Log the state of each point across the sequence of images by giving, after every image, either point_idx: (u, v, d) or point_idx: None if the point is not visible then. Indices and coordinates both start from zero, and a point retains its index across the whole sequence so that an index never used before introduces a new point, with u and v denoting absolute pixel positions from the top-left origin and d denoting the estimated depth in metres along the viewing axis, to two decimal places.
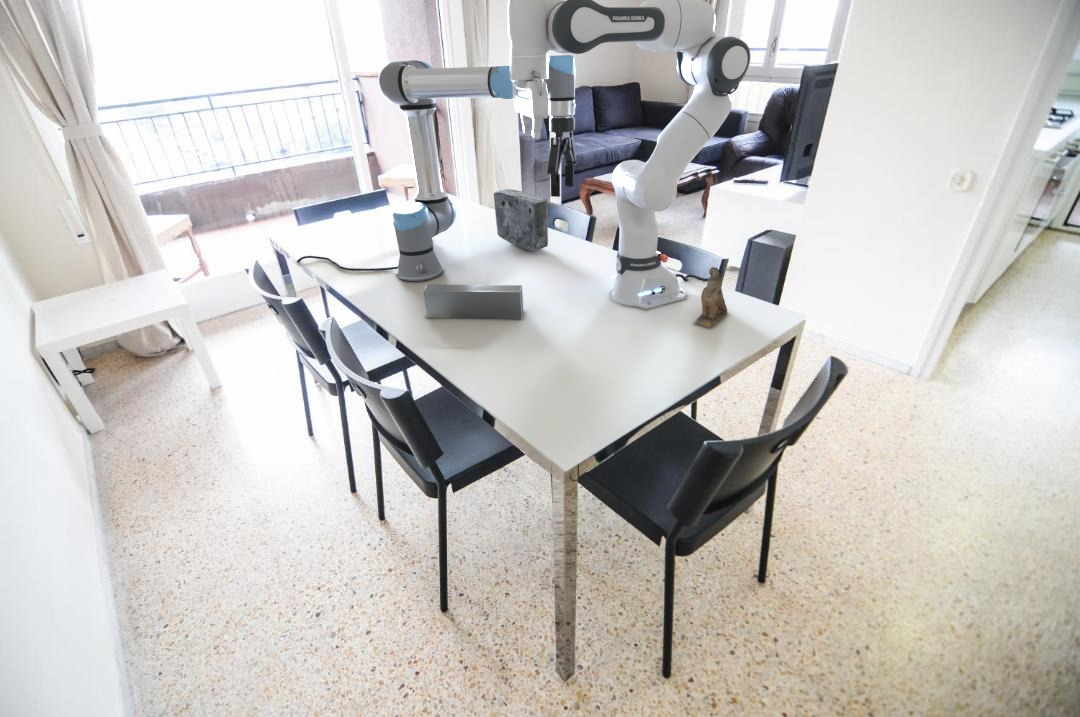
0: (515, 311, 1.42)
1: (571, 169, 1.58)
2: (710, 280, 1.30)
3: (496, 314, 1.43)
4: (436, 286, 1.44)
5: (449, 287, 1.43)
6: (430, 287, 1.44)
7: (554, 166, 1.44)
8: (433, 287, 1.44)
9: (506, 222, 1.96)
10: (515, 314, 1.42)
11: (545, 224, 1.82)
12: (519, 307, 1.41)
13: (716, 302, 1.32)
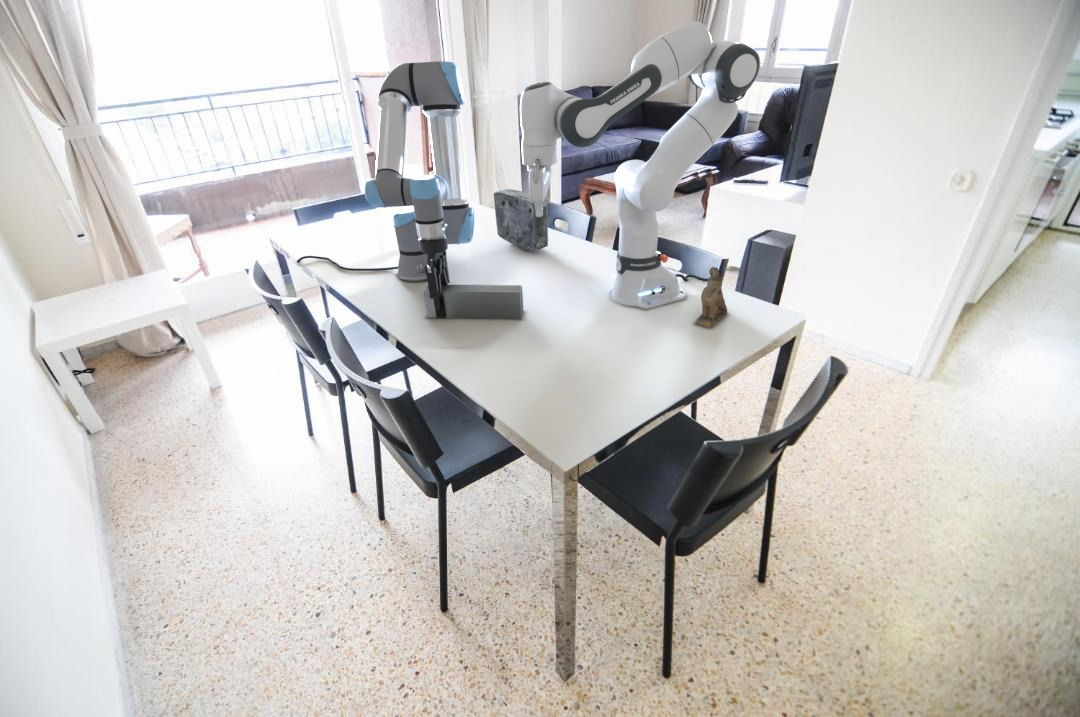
0: (515, 311, 1.42)
1: None
2: (710, 280, 1.30)
3: (496, 314, 1.43)
4: None
5: (449, 287, 1.43)
6: None
7: (436, 293, 1.37)
8: None
9: (506, 222, 1.96)
10: (515, 313, 1.42)
11: (545, 224, 1.82)
12: (519, 307, 1.41)
13: (716, 302, 1.32)
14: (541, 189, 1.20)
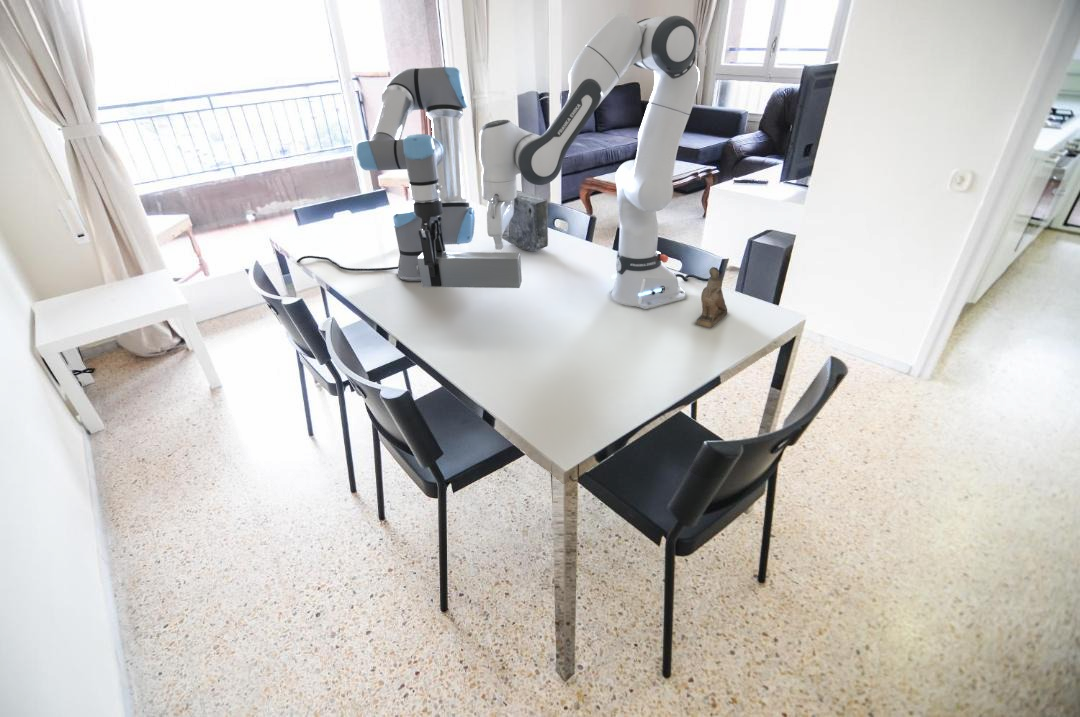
0: (512, 279, 1.37)
1: None
2: (710, 280, 1.30)
3: (493, 283, 1.38)
4: None
5: (444, 254, 1.38)
6: None
7: (431, 259, 1.32)
8: None
9: None
10: (513, 282, 1.37)
11: (545, 224, 1.82)
12: (517, 275, 1.36)
13: (716, 302, 1.32)
14: (499, 224, 1.22)
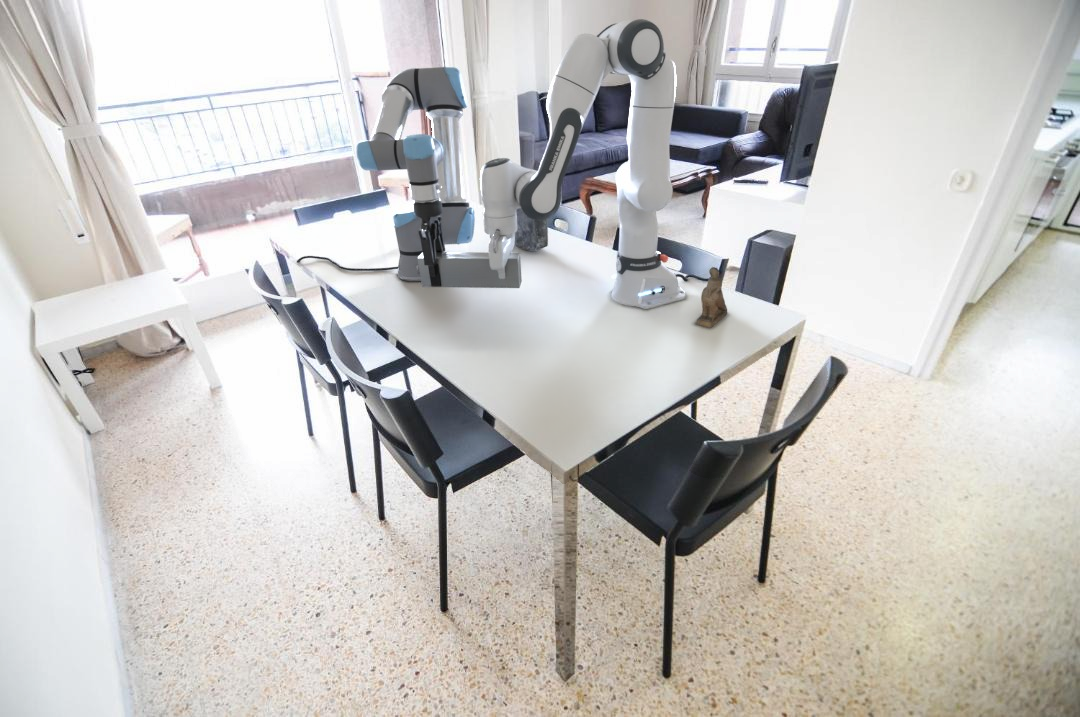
0: (512, 279, 1.37)
1: None
2: (710, 280, 1.30)
3: (493, 283, 1.38)
4: None
5: (444, 254, 1.38)
6: None
7: (431, 259, 1.32)
8: None
9: None
10: (513, 282, 1.37)
11: (545, 224, 1.82)
12: (517, 275, 1.36)
13: (716, 302, 1.32)
14: (500, 259, 1.26)
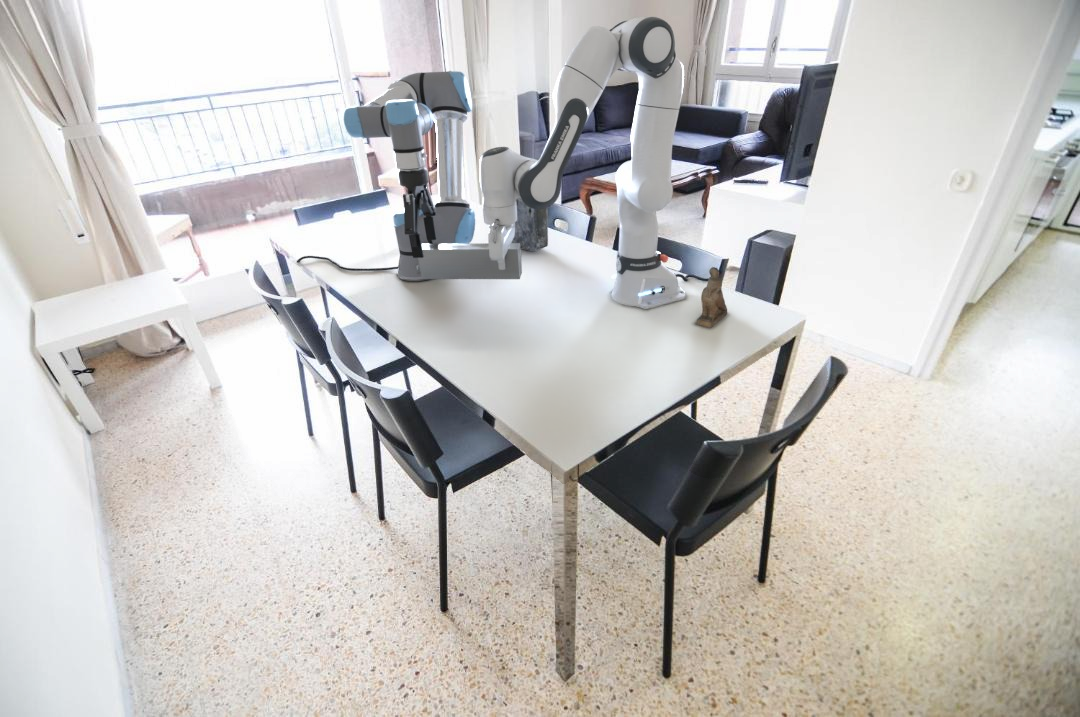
0: (512, 270, 1.35)
1: (431, 221, 1.40)
2: (710, 280, 1.30)
3: (493, 274, 1.37)
4: (430, 245, 1.38)
5: (443, 246, 1.37)
6: (423, 246, 1.37)
7: (412, 226, 1.25)
8: (427, 246, 1.37)
9: None
10: (513, 273, 1.36)
11: (545, 224, 1.82)
12: (517, 266, 1.35)
13: (716, 302, 1.32)
14: (500, 249, 1.25)
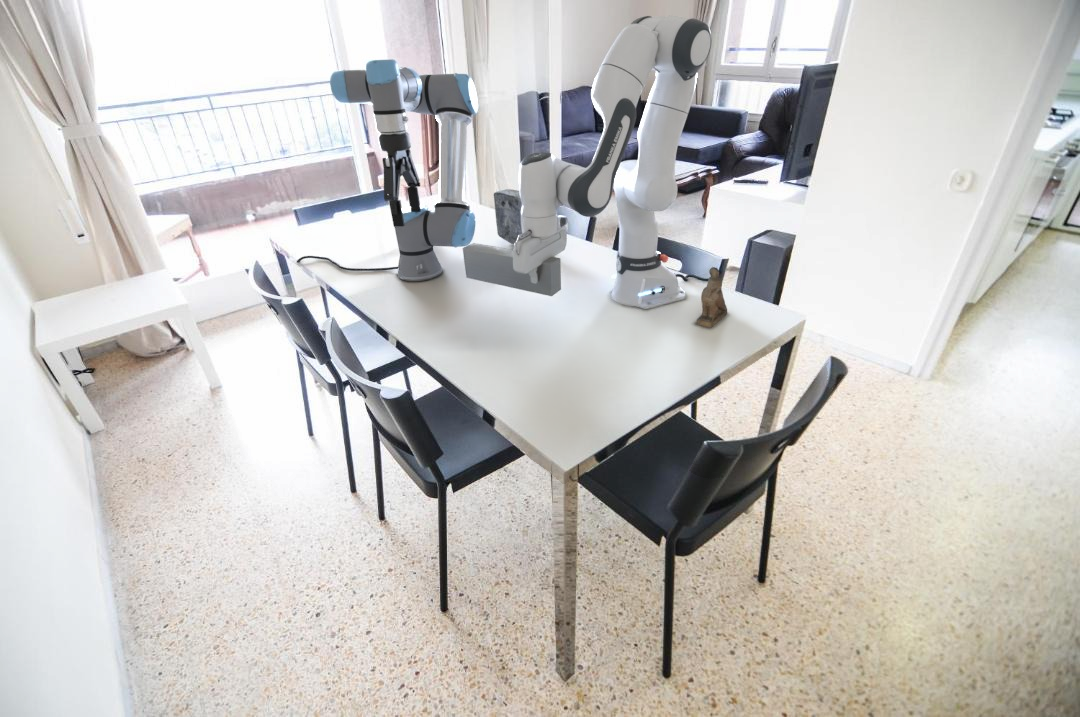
0: (545, 285, 1.25)
1: (415, 192, 1.36)
2: (710, 280, 1.30)
3: (527, 286, 1.29)
4: (478, 245, 1.36)
5: (489, 248, 1.33)
6: (472, 245, 1.36)
7: (391, 192, 1.20)
8: (475, 246, 1.36)
9: (506, 222, 1.96)
10: (546, 288, 1.26)
11: None
12: (550, 282, 1.24)
13: (716, 302, 1.32)
14: (523, 262, 1.16)
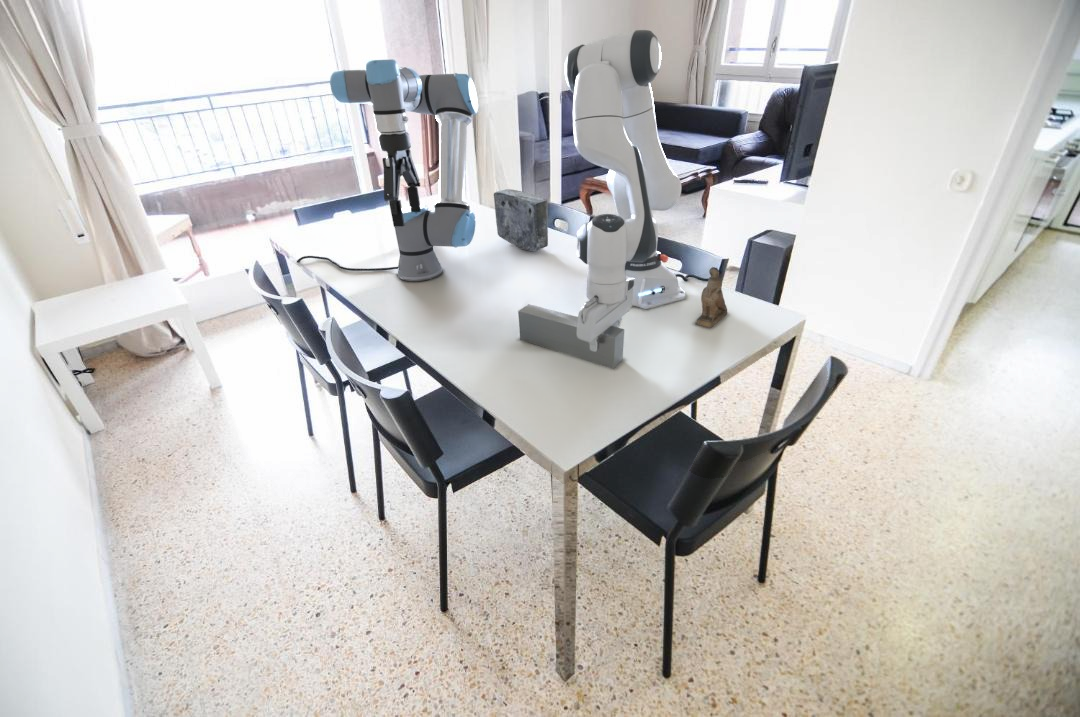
0: (607, 357, 1.19)
1: (415, 192, 1.36)
2: (710, 280, 1.30)
3: (587, 355, 1.22)
4: (535, 308, 1.29)
5: (546, 312, 1.27)
6: (528, 307, 1.30)
7: (391, 192, 1.20)
8: (531, 308, 1.29)
9: (506, 222, 1.96)
10: (608, 360, 1.19)
11: (545, 224, 1.82)
12: (613, 354, 1.17)
13: (716, 302, 1.32)
14: (588, 330, 1.09)
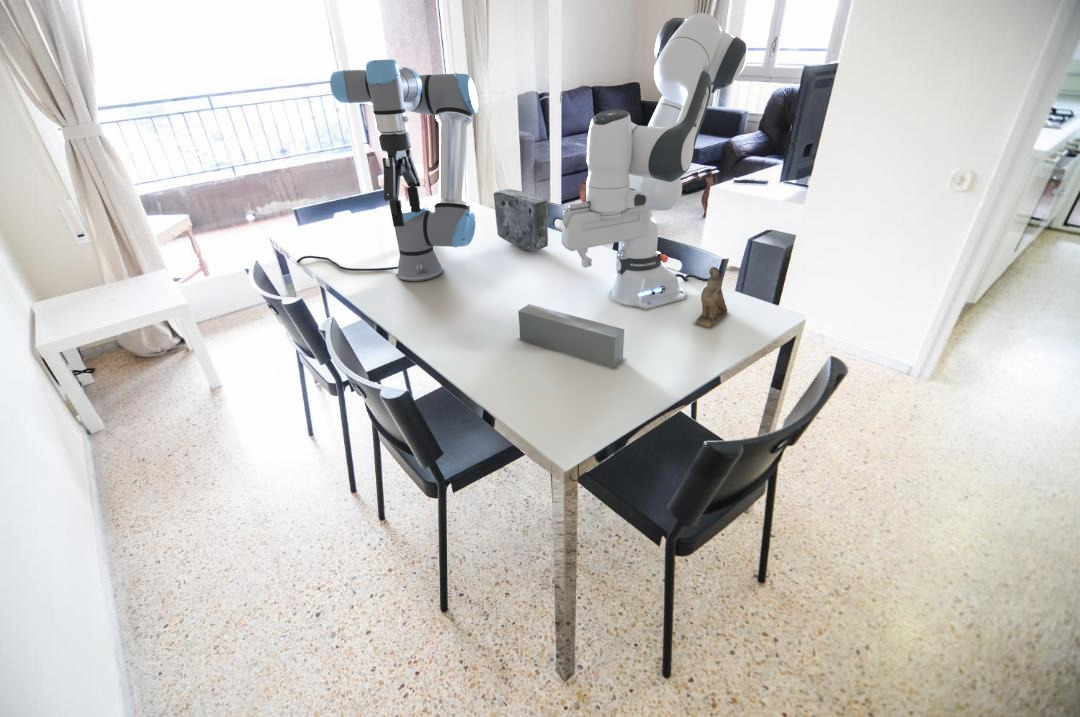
0: (607, 357, 1.19)
1: (415, 192, 1.36)
2: (710, 280, 1.30)
3: (587, 355, 1.22)
4: (535, 308, 1.29)
5: (546, 312, 1.27)
6: (528, 307, 1.30)
7: (391, 192, 1.20)
8: (531, 308, 1.29)
9: (506, 222, 1.96)
10: (608, 360, 1.19)
11: (545, 224, 1.82)
12: (613, 354, 1.17)
13: (716, 302, 1.32)
14: (568, 236, 1.01)
